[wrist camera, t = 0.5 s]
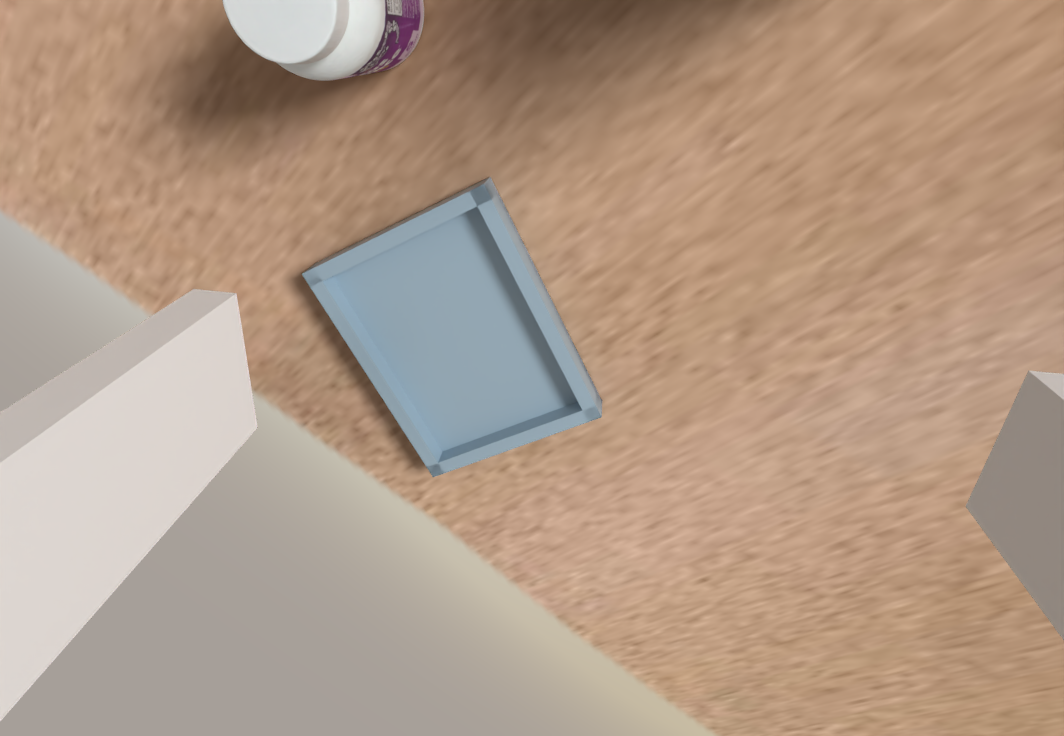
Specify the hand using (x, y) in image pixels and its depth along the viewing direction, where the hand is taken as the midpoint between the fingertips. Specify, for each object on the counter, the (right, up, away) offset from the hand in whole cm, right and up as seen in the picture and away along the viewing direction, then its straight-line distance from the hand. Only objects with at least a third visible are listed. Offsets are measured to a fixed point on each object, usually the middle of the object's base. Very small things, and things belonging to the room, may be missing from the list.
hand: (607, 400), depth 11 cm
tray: (-5, +2, +26) cm, 27 cm away
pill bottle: (-9, +17, +19) cm, 27 cm away
